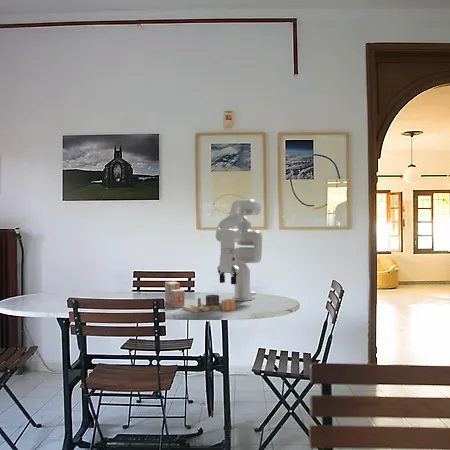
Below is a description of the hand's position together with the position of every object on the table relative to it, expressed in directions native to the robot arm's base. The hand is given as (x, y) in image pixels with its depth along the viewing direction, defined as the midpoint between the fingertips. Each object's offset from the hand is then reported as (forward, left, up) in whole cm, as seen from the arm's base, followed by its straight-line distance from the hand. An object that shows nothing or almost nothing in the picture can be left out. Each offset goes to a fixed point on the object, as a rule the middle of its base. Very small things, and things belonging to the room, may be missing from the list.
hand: (227, 283), depth 258 cm
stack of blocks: (+12, -34, -15) cm, 39 cm away
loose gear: (0, 0, -14) cm, 14 cm away
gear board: (+7, -11, -14) cm, 19 cm away
